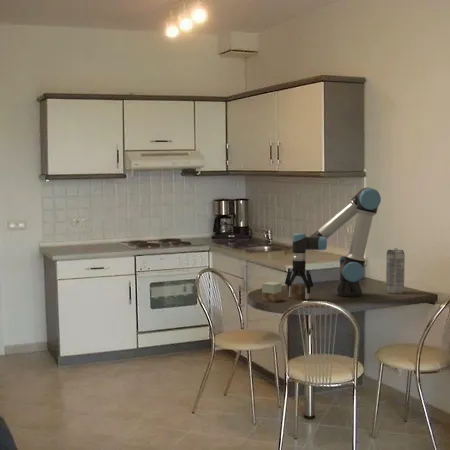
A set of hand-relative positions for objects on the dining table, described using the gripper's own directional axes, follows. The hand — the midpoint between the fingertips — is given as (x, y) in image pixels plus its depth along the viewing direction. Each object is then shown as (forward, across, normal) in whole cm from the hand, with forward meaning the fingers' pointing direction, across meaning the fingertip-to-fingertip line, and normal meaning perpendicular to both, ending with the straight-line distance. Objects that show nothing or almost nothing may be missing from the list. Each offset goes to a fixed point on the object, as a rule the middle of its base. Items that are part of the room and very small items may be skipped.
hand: (298, 297), depth 412 cm
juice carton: (+1, +37, +50) cm, 62 cm away
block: (0, 0, 0) cm, 0 cm away
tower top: (-4, -10, -13) cm, 17 cm away
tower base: (+1, -10, -13) cm, 17 cm away
